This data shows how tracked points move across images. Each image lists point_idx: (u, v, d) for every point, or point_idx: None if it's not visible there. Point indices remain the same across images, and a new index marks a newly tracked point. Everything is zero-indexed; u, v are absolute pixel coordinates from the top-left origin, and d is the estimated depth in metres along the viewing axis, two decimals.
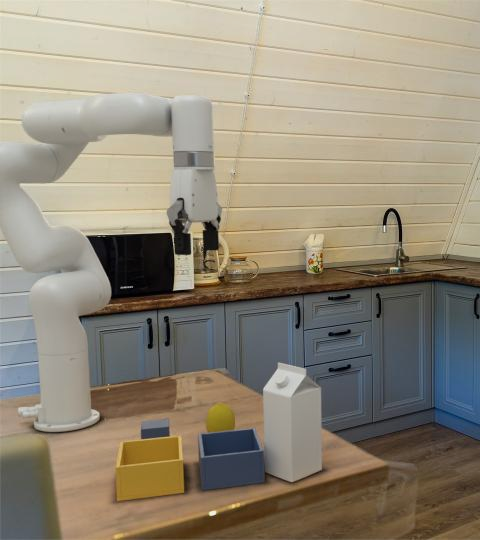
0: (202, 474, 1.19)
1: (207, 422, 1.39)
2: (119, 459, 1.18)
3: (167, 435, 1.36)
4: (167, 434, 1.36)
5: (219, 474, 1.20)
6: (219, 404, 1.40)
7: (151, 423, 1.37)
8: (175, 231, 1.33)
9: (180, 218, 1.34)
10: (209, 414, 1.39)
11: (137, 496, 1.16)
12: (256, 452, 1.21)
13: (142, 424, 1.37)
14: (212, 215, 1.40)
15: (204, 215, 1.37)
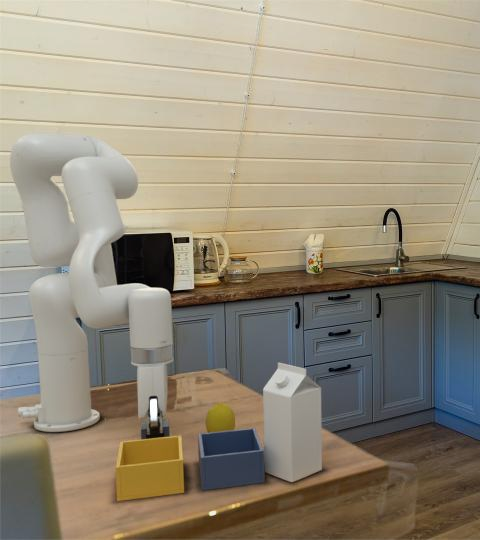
0: (202, 474, 1.19)
1: (207, 422, 1.39)
2: (119, 459, 1.18)
3: (167, 435, 1.36)
4: (167, 434, 1.36)
5: (219, 474, 1.20)
6: (219, 404, 1.40)
7: None
8: (151, 433, 1.33)
9: None
10: (209, 414, 1.39)
11: (137, 496, 1.16)
12: (256, 452, 1.21)
13: (142, 424, 1.37)
14: None
15: None
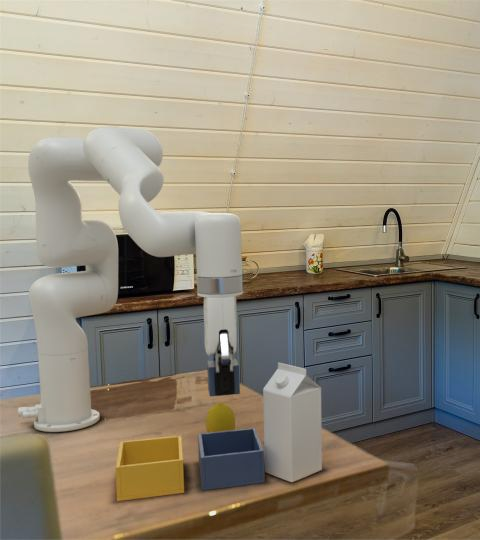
0: (202, 474, 1.19)
1: (207, 422, 1.39)
2: (119, 459, 1.18)
3: (237, 375, 1.23)
4: (237, 374, 1.23)
5: (219, 474, 1.20)
6: (219, 404, 1.40)
7: None
8: (221, 371, 1.21)
9: (220, 355, 1.21)
10: (209, 414, 1.39)
11: (137, 496, 1.16)
12: (256, 452, 1.21)
13: (209, 364, 1.24)
14: None
15: None
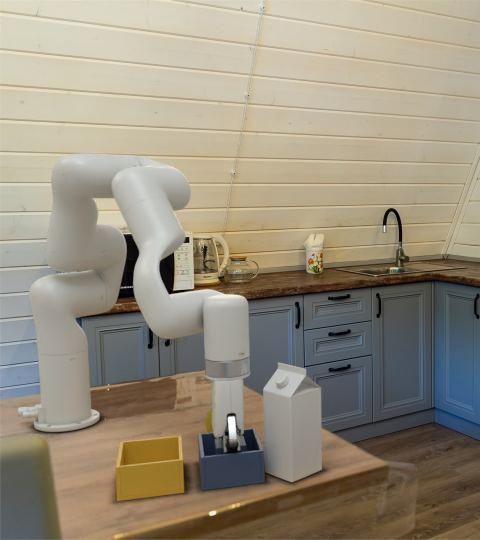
0: (202, 474, 1.19)
1: (207, 422, 1.39)
2: (119, 459, 1.18)
3: None
4: None
5: (219, 474, 1.20)
6: None
7: None
8: (229, 453, 1.22)
9: (228, 437, 1.22)
10: (209, 414, 1.39)
11: (137, 496, 1.16)
12: (256, 452, 1.21)
13: (216, 443, 1.25)
14: None
15: None
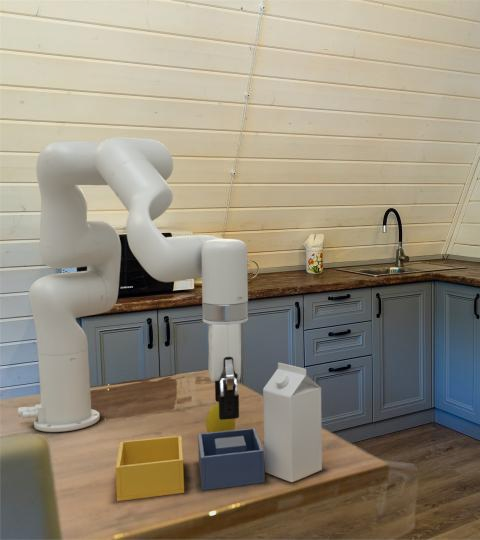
0: (202, 474, 1.19)
1: (207, 422, 1.39)
2: (119, 459, 1.18)
3: None
4: None
5: (219, 474, 1.20)
6: None
7: (226, 441, 1.26)
8: (226, 395, 1.19)
9: (225, 379, 1.20)
10: (209, 414, 1.39)
11: (137, 496, 1.16)
12: (256, 452, 1.21)
13: (216, 443, 1.25)
14: None
15: None
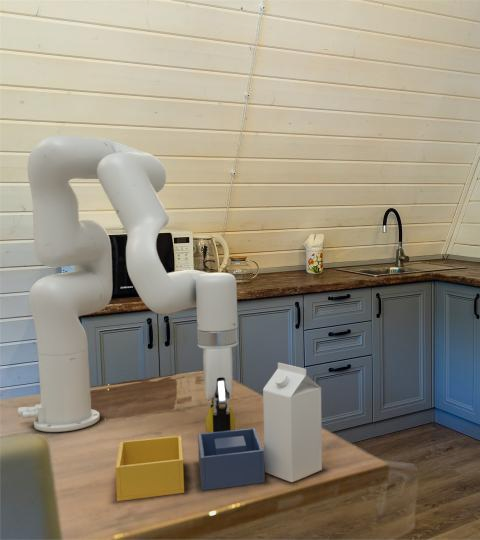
0: (202, 474, 1.19)
1: (207, 422, 1.39)
2: (119, 459, 1.18)
3: None
4: None
5: (219, 474, 1.20)
6: None
7: (226, 441, 1.26)
8: (218, 414, 1.36)
9: (218, 399, 1.37)
10: (209, 414, 1.39)
11: (137, 496, 1.16)
12: (256, 452, 1.21)
13: (216, 443, 1.25)
14: None
15: None
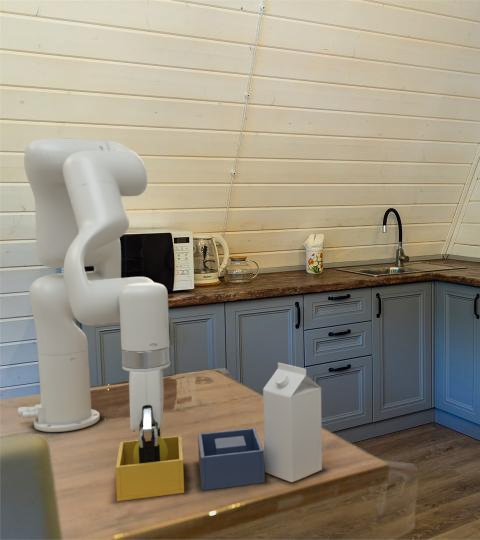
0: (202, 474, 1.19)
1: (134, 456, 1.20)
2: (119, 459, 1.18)
3: None
4: None
5: (219, 474, 1.20)
6: None
7: (226, 441, 1.26)
8: (145, 446, 1.16)
9: None
10: (136, 447, 1.20)
11: (137, 496, 1.16)
12: (256, 452, 1.21)
13: (216, 443, 1.25)
14: None
15: None
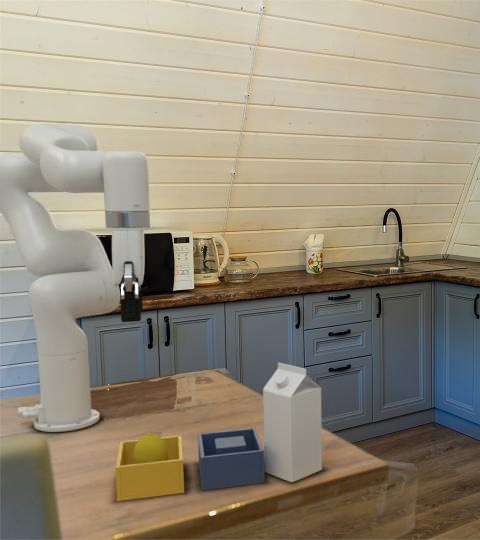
0: (202, 474, 1.19)
1: (134, 456, 1.20)
2: (119, 459, 1.18)
3: None
4: None
5: (219, 474, 1.20)
6: (149, 435, 1.21)
7: (226, 441, 1.26)
8: (126, 297, 1.24)
9: None
10: (136, 447, 1.20)
11: (137, 496, 1.16)
12: (256, 452, 1.21)
13: (216, 443, 1.25)
14: None
15: (143, 277, 1.30)
